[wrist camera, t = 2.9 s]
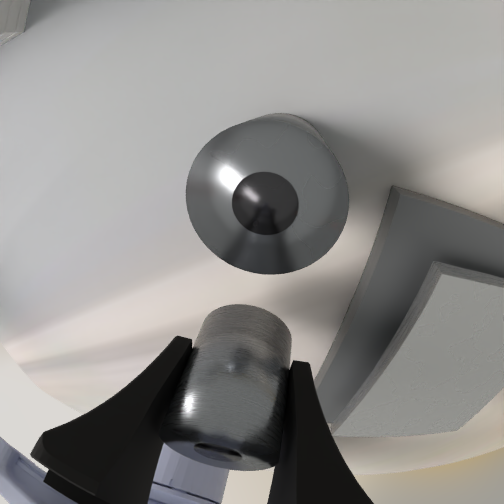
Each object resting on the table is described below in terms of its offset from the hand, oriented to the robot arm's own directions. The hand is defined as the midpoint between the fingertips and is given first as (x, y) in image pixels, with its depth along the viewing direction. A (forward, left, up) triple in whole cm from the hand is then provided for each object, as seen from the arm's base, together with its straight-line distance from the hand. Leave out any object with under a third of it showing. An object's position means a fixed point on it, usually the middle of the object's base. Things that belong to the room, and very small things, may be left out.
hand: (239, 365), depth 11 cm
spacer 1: (+7, 0, -5) cm, 9 cm away
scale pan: (-2, -13, -3) cm, 14 cm away
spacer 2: (0, 0, -2) cm, 2 cm away
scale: (-2, -13, -5) cm, 14 cm away
